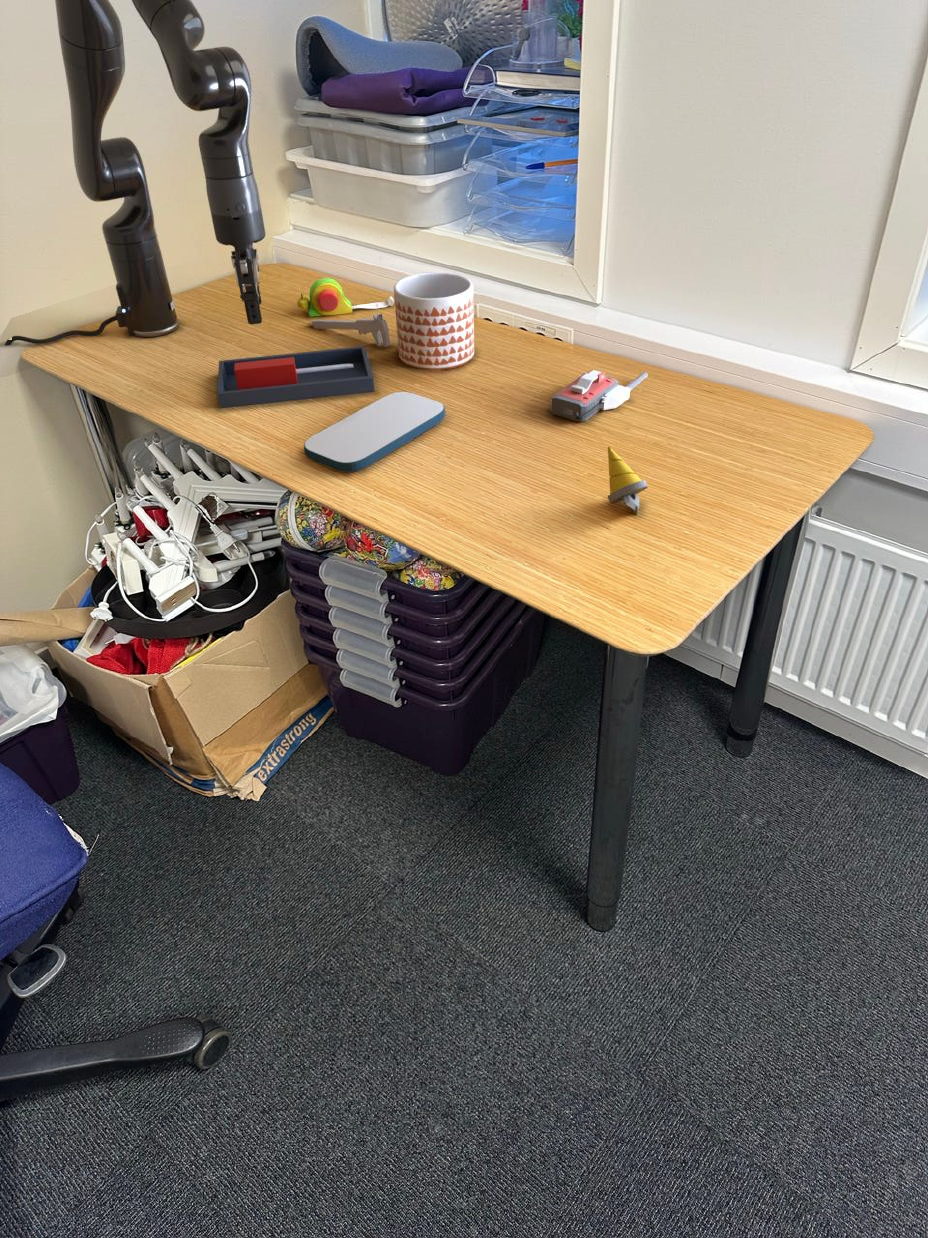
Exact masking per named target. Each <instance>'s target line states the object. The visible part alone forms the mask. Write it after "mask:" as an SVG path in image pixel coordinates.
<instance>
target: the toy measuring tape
mask: <svg viewBox="0 0 928 1238" xmlns="http://www.w3.org/2000/svg"><path fill="white" fill-rule="evenodd" d="M385 300H386V301H378V302H371V303H364V304H363V303H362V304H357V305H352V303H351V301H350V300H349V299H348V298H346V296H345V293H344V291H343V289H342V286H341V285H340V284H339V282H338V281H336V279H333V278H331V277H321V278H319V279H316V280H315V281H314V282H313V283H312V285H311V286H310V289H309V299H308V297H306V294H305V292H301V294H300V297H298V298H297V300H296V303H297V305H296V306H298V308H299V309H300V310H303V311H304V310H307V314H308V316H309V317H312V318H313V317H321V316H337V315H345V314H352V313H353V310H355V309H366V310H367V309H370V310H376V309H382V308H388V307H389V306H390V307H393V306H395V299H394V297H392V295H391V296H390V295H389V296H387V298H386V299H385Z"/></svg>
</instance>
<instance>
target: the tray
mask: <svg viewBox="0 0 928 1238" xmlns="http://www.w3.org/2000/svg"><path fill="white" fill-rule="evenodd" d="M290 357H294V361H295V367H296V369H302V368H312V367H321V366H331V365H341V364H353V368H349V369H339V370H330V371H320V372H311V373H301V374H297V380H298V384H290V385H281V386H271V387H262V388H253V389H243V390H238V386H237V381H236V376H235V371H234V364H235V363H241V362H251V361H260V360H270V359H280V358H290ZM217 373H218V374H217V387H216V396H217V400H218V406H219V409H229V408H237V407H238V408H239V407H248V406H259V405H267V404H268V405H269V404H275V403H287V402H295V401H302V400H303V401H305V400H314V399H323V398H330V397H332V398H333V397H342V396H349V395H350V396H351V395H359V394H367V393H375V392H376V391H375V390H376V389H375V381H374V376H373V371H372V367H371V362H370V359H369V355H368V352H367V347H366V346H365V345H361V346H353V347H352V346H351V347H341V348H333V349H322V350H312V351H304V352H303V351H301V352H294V353H293V352H292V353H283V354H272V355H263V356H254V357H253V356H252V357H244V358H234V359H224V360H218V372H217Z"/></svg>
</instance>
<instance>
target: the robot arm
mask: <svg viewBox="0 0 928 1238" xmlns="http://www.w3.org/2000/svg"><path fill="white" fill-rule="evenodd" d="M54 3H55V11H56V18H57V20H56V21H57V28H58V36H59V44H60V50H61V57H62V61H63V68H64V73H65V79H66V84H67V91H68V97H69V98H68V99H69V107H70V119H71V121H70V123H71V137H72V152H73V153H72V154H73V162H74V168H75V173H76V178H77V182H78V183H79V186H80V188H81V191H82V192H83V194H84V195H85V196H86V197H87V198H88V199H89V200H90V201H92V202H95V203H101V202H109V201H114V200H119V199H123V202H122V204H121V206H120V207H119V208H118V210H117V211H115V213H113V214H112V215H111V216H109V217H108V218H107V219H105V220H104V222H103V223H102V225H101V230H102V235H103V238H104V241H105V244H106V247H107V252H108V255H109V259H110V262H111V266H112V270H113V273H114V277H115V281H116V285H115V290H116V293H117V298H118V300H119V304H120V305H117V308H116V311H115V315H113V316H111V317H108V318H107V319H105V320H103V321H102V322H101V323H100V324H99V327H98V328H97V329H96V330H81V329H77V330H76V329H75V330H68V331H65V332H62V333H59V334H56V335H54V336H51V337H48V338H39V339H37V338H32V337H27V336H24V335H13V336H11V337H12V340H8V339H7V340H6V341H5V343H4V346H5V347H6V346H10V345H12V343H15V342H16V341H21V342H25V343H29V344H36V345H44V344H45V345H46V344H49V343H53V342H57V341H60V340H62V339H64V338H67V337H71V336H88V337H93V336H98V335H101V334H102V333H103V332H104V330H105V328H106V327H107V326H108V325H109V324H111V323H114V322H117V324H118V327H119V328H126V329H127V333H128V336H129V337H141V338H153V337H160V336H164V335H167V334H170V333H173V332H174V331H176V330H177V329H178V328H179V327H180V323H179V319H178V315H177V312H176V309H175V307H176V303H175V299H174V298H173V295H172V291H171V287H170V283H169V278H168V275H167V271H166V267H165V263H164V259H163V254H162V250H161V245H160V242H159V238H158V233H157V230H156V224H155V215H154V209H153V205H152V201H151V197H150V196H151V195H150V191H149V186H148V179H147V175H146V169H145V164H144V162H143V159H142V156H141V153H140V151H139V149H138V147H137V145H136V143H134V142H133V141H132V140H131V139H130V138H128V137H125V136H121V137H113V138H106V139H102V131H103V125H104V122H105V120H106V117H107V115H108V112H109V110H110V107H112V104H113V102H114V100H115V98H116V96H117V95H118V92H119V89H120V88H121V85H122V82H123V79H124V78H125V77H124V76H125V72H126V56H125V46H124V45H125V44H124V36H123V28H122V23H121V20H120V17H119V15H118V13H117V12H116V10H115V8H114V6H113V4H112V3H111V1H110V0H54ZM131 3H132V4H133V6H134V8H135V10H136V11H137V13H138V15H139V17H140V18H141V20H142V21H143V23H144V24H145V26H146V27H147V29H148V31H149V32H150V33H151V35H152V37H153V38H154V39H155V41H156V43H157V46H158V48H159V51H160V53H161V56H162V59H163V61H164V65H165V66H166V70H167V73H168V75H169V78H170V82H171V84H172V89H173V90H174V93H175V94H176V96H177V99H179V101H180V102H181V103H182V104H183V105H184V106H185V107H186V108H188V109H190V110H192V111H194V112H207V111H211V110H217V109H218V113H217V118H216V120H215V122H214V123H213V124H211V126H209V127H207V128H206V129H204V130H202V131H201V132H200V133H199V135H198V148H199V154H200V158H201V163H202V167H203V172H204V177H205V189H206V197H207V201H208V207H209V210H210V215H211V219H212V220H211V221H212V225H213V230H214V236H215V240H216V242H217V243H219V244H220V245H223V246H231V247H233V248H234V250H231V252H230V253H231V256H230V259H231V265H232V267H233V269H234V274H235V281H236V284H237V287H238V288H239V293H240V295H239V299H241V302H243V303H244V310H245V314H246V319H247V323H248V324H249V325H260V324H262V323H263V317H262V313H261V312H262V311H261V307H260V306H261V304H262V296H261V291H260V290H261V289H260V282H261V281H260V276H259V272H260V265H259V253H258V249H257V248H254V244H257V243H259V242H261V241H263V240H264V239H265V237H266V228H265V222H264V216H263V210H262V205H261V199H260V192H259V188H258V183H257V181H256V177H255V172H254V168H253V162H252V156H251V149H250V144H249V135H250V133H249V131H250V115H251V103H252V102H251V101H252V81H251V74H250V71H249V69H248V66H247V64H246V62H245V60H244V58H243V56H242V55H241V53H239V51H238V50H236V49H235V48H232V47H231V46H217V47H211V48H203V49H196V48H197V47H199V46H200V44H201V42H203V40H204V37H205V30H206V29H205V23H204V21H203V18H202V15H201V14H200V12H199V11H198V9H197V8H196V6H195V4H194V3H193V1H192V0H131ZM195 49H196V50H195Z"/></svg>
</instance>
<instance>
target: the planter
mask: <svg viewBox="0 0 928 1238" xmlns="http://www.w3.org/2000/svg"><path fill="white" fill-rule="evenodd" d="M393 300H394V309H395V311H394V312H395V323H396V335H397V348H398V358H399V359H400V361H401V362H402V363H403V364H405V365H406V366H409V367H411V368H415V369H419V370H425V371H426V370H427V371H428V370H429V371H439V370H440V371H446V370H451V369H455V368H459V367H461V366H463V365H466V364H468V363H469V362H470V361H471V360H472V359H473V358H474V356H475V320H474V319H475V318H474V316H475V315H474V313H475V312H474V311H475V310H474V284H473V282H472V281H471V280H470V279H469V278H468V277H466V276H463V275H460V274H456V273H451V272H444V271H443V272H441V271H434V272H433V271H431V272H430V271H429V272H419V273H415V274H411V275H408V276H405V277H403V278H400V279H399V280H398V281H397V282H395V284H394V285H393Z"/></svg>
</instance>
